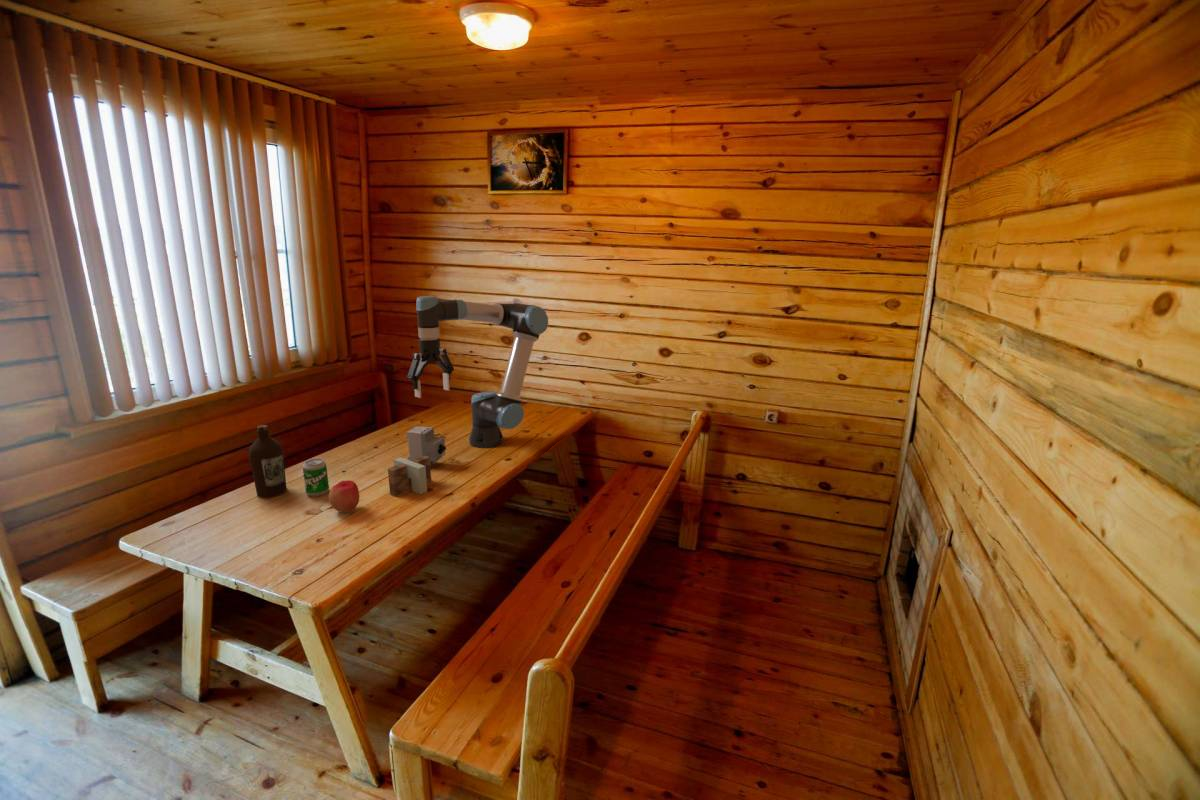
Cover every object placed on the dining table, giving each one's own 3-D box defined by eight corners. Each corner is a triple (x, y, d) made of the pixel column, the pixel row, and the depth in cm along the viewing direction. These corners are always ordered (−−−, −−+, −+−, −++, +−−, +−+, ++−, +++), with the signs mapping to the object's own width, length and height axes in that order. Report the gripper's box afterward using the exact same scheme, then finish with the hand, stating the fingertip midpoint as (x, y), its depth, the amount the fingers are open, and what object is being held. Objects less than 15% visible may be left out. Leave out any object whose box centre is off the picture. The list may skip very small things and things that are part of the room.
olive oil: (249, 493, 206) (238, 427, 199) (279, 483, 214) (270, 419, 207) (263, 501, 200) (253, 433, 193) (294, 491, 208) (285, 425, 201)
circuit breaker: (441, 470, 229) (439, 435, 225) (408, 467, 231) (405, 432, 227) (449, 463, 236) (447, 429, 232) (417, 460, 239) (415, 426, 234)
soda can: (306, 490, 209) (302, 459, 206) (329, 487, 212) (326, 456, 209) (305, 498, 202) (301, 467, 199) (329, 495, 205) (325, 464, 202)
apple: (339, 504, 199) (336, 477, 196) (366, 504, 199) (363, 478, 196) (325, 516, 190) (322, 489, 187) (354, 517, 189) (351, 489, 187)
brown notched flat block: (426, 480, 220) (424, 455, 217) (431, 482, 218) (429, 457, 215) (390, 494, 207) (387, 468, 204) (395, 496, 205) (393, 470, 203)
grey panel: (396, 484, 215) (393, 459, 212) (402, 482, 217) (400, 457, 215) (420, 494, 207) (418, 468, 205) (427, 491, 210) (425, 466, 207)
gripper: (448, 333, 227) (451, 385, 232) (394, 341, 207) (398, 398, 212) (461, 335, 222) (464, 388, 228) (407, 344, 203) (411, 402, 208)
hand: (432, 393), depth 220 cm, fingers open, 13 cm apart
